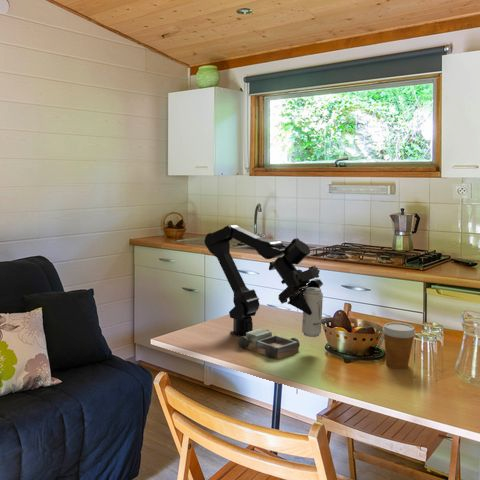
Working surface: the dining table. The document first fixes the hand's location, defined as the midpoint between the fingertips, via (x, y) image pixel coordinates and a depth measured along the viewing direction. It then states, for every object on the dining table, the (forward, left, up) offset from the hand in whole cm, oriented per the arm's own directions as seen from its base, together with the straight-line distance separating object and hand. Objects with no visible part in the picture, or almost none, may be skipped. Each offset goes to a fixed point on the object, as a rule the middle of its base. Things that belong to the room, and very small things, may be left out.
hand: (316, 312), depth 169 cm
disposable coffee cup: (+23, +10, -13) cm, 29 cm away
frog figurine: (+10, +19, -13) cm, 25 cm away
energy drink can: (-1, 0, -8) cm, 8 cm away
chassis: (-13, -8, -13) cm, 20 cm away
